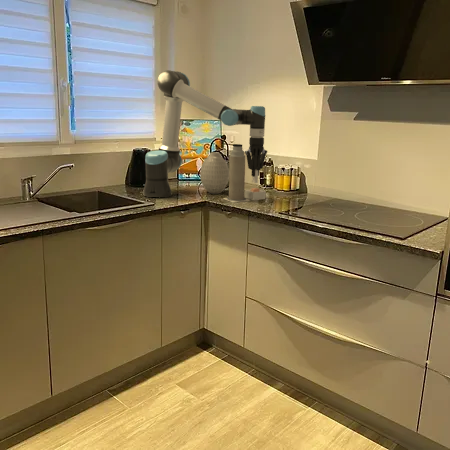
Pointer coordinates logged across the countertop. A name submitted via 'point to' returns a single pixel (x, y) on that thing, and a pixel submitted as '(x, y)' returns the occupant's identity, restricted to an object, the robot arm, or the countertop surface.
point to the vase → (214, 173)
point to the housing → (255, 195)
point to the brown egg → (255, 189)
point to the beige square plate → (236, 200)
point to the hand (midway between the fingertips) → (254, 182)
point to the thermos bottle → (237, 173)
